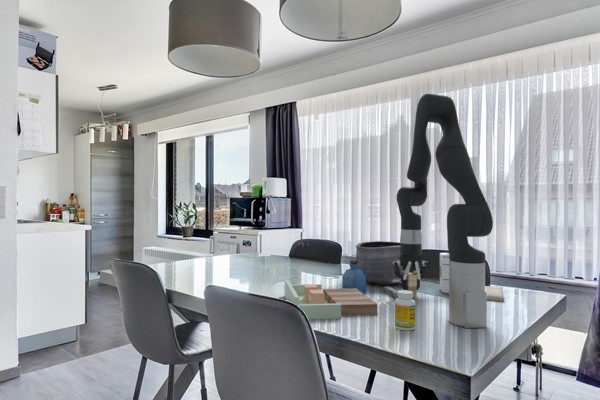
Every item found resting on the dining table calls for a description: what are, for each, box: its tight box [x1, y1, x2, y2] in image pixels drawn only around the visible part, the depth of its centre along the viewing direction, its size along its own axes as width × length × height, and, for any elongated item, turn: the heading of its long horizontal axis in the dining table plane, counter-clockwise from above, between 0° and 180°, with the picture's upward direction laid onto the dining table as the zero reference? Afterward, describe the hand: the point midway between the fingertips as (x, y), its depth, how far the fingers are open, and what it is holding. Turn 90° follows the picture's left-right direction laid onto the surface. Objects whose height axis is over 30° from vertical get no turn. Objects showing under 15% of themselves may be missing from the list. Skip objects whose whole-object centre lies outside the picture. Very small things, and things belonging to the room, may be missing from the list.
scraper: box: [383, 272, 418, 300], centre depth 139 cm, size 16×8×8 cm, turn 9°
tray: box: [283, 279, 342, 320], centre depth 124 cm, size 28×13×6 cm, turn 8°
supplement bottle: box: [394, 289, 417, 331], centre depth 103 cm, size 5×5×10 cm
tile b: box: [303, 283, 318, 303], centre depth 128 cm, size 5×5×4 cm
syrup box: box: [439, 252, 449, 294], centre depth 148 cm, size 6×6×14 cm
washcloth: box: [485, 285, 505, 303], centre depth 143 cm, size 12×18×3 cm, turn 157°
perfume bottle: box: [341, 259, 367, 295], centre depth 143 cm, size 6×6×12 cm
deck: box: [322, 287, 378, 316], centre depth 126 cm, size 22×12×3 cm, turn 8°
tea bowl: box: [355, 240, 411, 286], centre depth 163 cm, size 25×22×17 cm
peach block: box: [309, 289, 324, 304], centre depth 120 cm, size 5×5×4 cm
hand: (410, 289), depth 139 cm, fingers open, 4 cm apart
